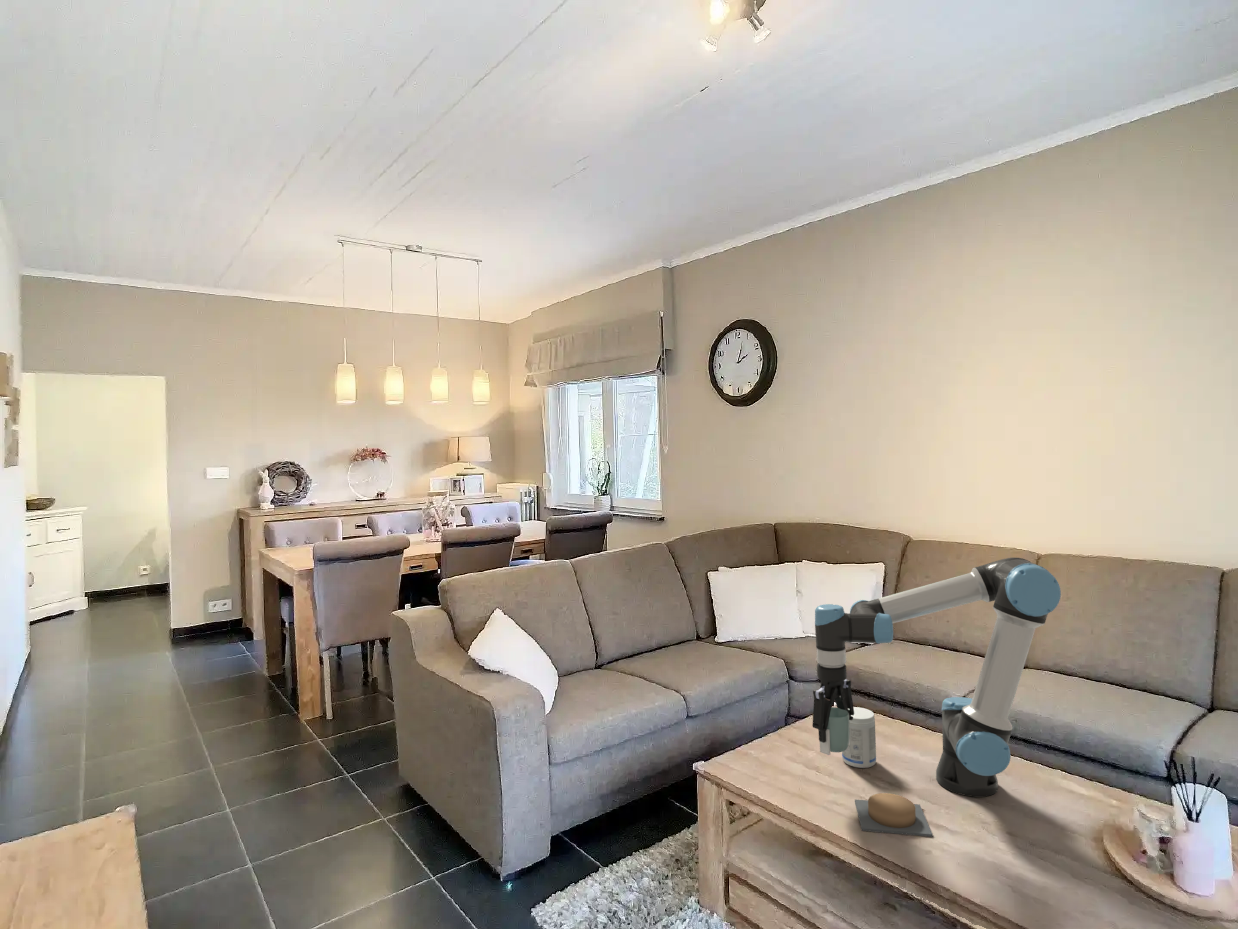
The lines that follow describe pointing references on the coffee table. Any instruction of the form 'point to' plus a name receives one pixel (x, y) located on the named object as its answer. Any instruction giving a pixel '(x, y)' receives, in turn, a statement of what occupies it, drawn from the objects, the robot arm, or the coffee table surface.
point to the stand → (892, 815)
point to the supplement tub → (861, 740)
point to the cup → (838, 729)
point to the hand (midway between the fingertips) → (835, 748)
